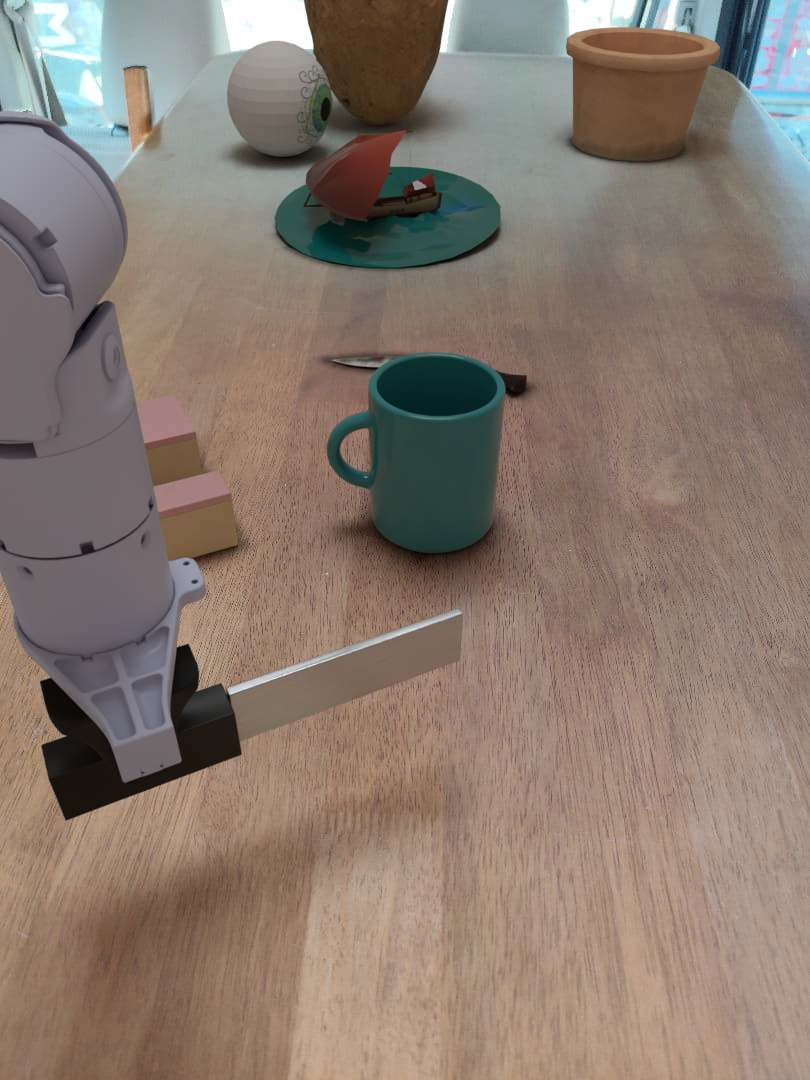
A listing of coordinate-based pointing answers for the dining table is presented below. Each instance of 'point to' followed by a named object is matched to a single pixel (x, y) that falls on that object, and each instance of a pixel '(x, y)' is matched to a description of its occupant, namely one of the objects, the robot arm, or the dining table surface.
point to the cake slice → (196, 516)
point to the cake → (168, 440)
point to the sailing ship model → (384, 209)
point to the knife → (510, 380)
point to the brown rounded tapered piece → (377, 52)
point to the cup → (429, 450)
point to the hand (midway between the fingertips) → (140, 751)
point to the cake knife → (260, 709)
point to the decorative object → (279, 98)
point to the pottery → (636, 89)
